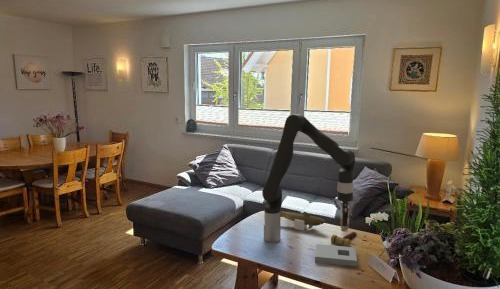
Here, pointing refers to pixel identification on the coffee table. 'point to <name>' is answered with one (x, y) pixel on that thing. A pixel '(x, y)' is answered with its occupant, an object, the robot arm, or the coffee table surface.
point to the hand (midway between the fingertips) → (344, 223)
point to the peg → (344, 227)
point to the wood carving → (302, 219)
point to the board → (335, 255)
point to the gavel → (343, 239)
